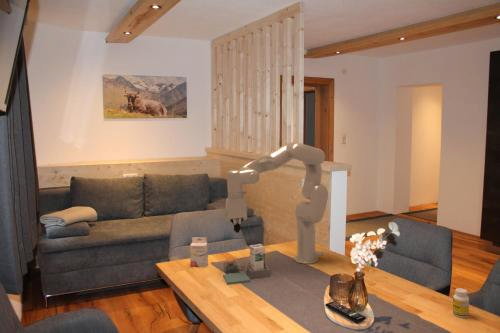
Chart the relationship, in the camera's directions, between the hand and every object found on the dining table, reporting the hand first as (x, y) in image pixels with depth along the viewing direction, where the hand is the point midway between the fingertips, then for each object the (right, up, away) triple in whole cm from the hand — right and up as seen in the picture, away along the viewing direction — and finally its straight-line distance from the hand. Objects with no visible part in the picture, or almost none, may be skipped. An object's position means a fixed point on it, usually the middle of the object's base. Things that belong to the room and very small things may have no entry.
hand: (237, 231), depth 212 cm
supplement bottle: (+86, -24, -49) cm, 102 cm away
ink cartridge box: (-20, -20, +14) cm, 32 cm away
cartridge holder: (+10, -21, -1) cm, 23 cm away
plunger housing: (-3, -20, +4) cm, 21 cm away
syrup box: (+10, -21, -1) cm, 23 cm away
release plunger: (-3, -20, +3) cm, 20 cm away
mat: (0, -22, -7) cm, 23 cm away
